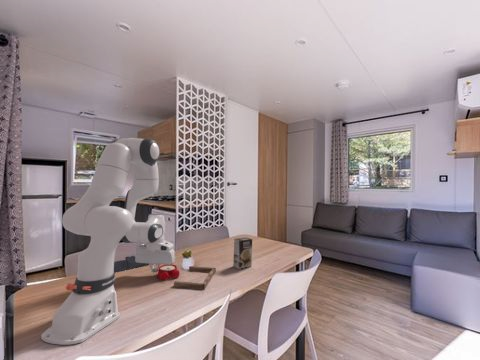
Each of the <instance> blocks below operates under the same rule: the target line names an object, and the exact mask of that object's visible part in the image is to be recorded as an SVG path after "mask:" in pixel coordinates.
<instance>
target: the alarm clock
mask: <svg viewBox="0 0 480 360" xmlns="http://www.w3.org/2000/svg"><path fill="white" fill-rule="evenodd" d="M156 277H157V278H159V279H160V280H161V281H166V280H168V279H178V278H179V277H180V271H179V270H178V267H177V265H176V264H172V265H164V264H161V265H160V266H159V268H158V272H157V273H156Z"/></svg>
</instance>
